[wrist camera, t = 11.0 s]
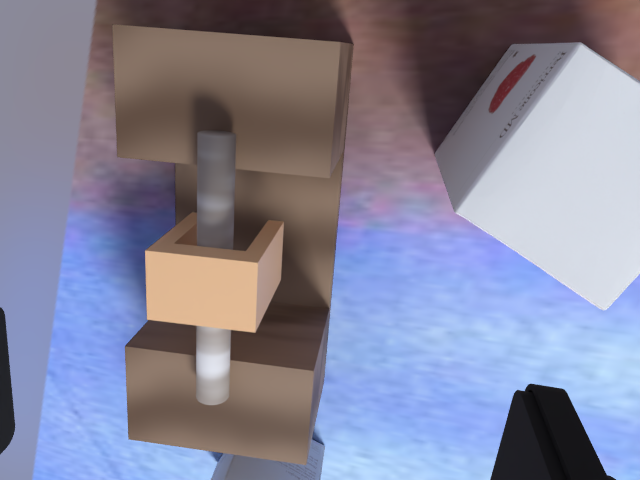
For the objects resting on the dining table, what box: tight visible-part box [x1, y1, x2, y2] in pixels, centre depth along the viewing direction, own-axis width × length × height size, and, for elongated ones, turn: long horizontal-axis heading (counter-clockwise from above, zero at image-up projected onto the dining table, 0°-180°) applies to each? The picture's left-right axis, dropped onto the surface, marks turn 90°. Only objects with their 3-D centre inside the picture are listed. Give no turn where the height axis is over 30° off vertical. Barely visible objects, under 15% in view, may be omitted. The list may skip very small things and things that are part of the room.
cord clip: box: [145, 212, 284, 333], centre depth 34 cm, size 4×6×8 cm, turn 86°
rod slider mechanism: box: [112, 24, 354, 465], centre depth 37 cm, size 26×12×12 cm, turn 176°
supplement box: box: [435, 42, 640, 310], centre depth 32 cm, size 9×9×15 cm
